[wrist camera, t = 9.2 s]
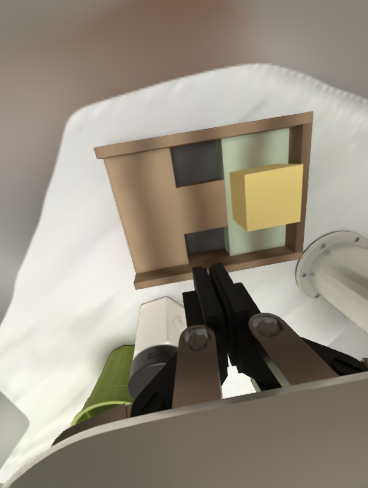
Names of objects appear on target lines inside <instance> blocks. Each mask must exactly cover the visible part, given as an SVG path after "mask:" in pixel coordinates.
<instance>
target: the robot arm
mask: <svg viewBox="0 0 368 488" xmlns="http://www.w3.org/2000/svg"><path fill="white" fill-rule="evenodd" d="M208 270H209V275H208V272H207V270H206V268H202V266H196V267H192V273H193V280H194V286H195V291H189V292H184V293H182V295H183V302H184V309H185V317H186V324H187V328H186V329H185V330H184V331H183V332H182V333H181V335H180V338H179V344H178V351H177V352H176V354H175V355H174V356H173V357H172V358H171V359H170V360H169V361H168V362H167V364H166V365H165V366H164V367H163V368H162V369H161V370H160V371H159V372H158V374H157V375H156V376H155V377H154V378H153V379H152V380H151V381H150V382H149V384H148V385H147V386H146V387H145V388H144V389H143V390H142V391H141V392H140V394H139V395H138V396H137V398H136V399H135V400H134V403H131V404H129V405H127V406H126V404H125V403H123V404H121V405H119V406H117V407H114V408H112V409H110V410H107V411H105V412H103V413H101V414H98V415H96V416H94V417H92V418H89V419H87V420H85V421H83V422H80V423H78V424H76V425H73V426H71V427H70V428H68V429H66V430H65V431H63V432H62V433H61V434H60V435H59V436H58V437H57V438H56V439H55V441H54V442H53V444H52V445H51V447H50V448H49V449H47V450H46V451H44V452H42V453H41V454H39V455H38V456H36V457H35V458H34V459H32V460H31V461H30V462H28V463H27V464H26V465H24V466H23V467H22V468H21V469H19V470H18V471H17V472H16V473H15V474H14V475H13V476H12V477H11V478H10V479H9V480H8V481H7V482H6V483H5V484H4V485H3V486H2V487H1V488H368V358H362V360H361V361H358V360H357V359H355V358H353V357H351V356H349V355H347V354H344V353H342V352H339V351H337V350H334V349H331V348H329V347H326V346H323V345H321V344H318V343H316V342H313V341H310V340H308V339H305V338H303V337H300V336H299V335H298V334H297V333H296V332H295V331H294V330H293V329H292V328H291V327H290V326H289V325H288V324H287V323H286V322H285V321H284V320H282V319H281V318H280V317H278V316H276V315H274V314H270V313H261V312H260V310H259V309H258V307H257V306H256V304H255V303H254V301H253V300H252V298H251V296H250V295H249V293H248V292H247V290H246V289H245V287H244V285H243V284H242V283H241V282H240V283H235V284H234V283H233V281H232V280H231V278H230V276H229V274H228V273H227V271H226V269H225V267H224V266H223V264H222V262H219V263H214V264H212V265H211V267H208ZM296 280H297V283H298V286H299V287H300V289H301V290H302V291H303V292H304V293H305V294H306V295H308V296H309V297H311V298H313V299H316V300H327V301H329V302H330V303H331V304H332V305H333V306H335V307H336V308H337V309H338V310H339V311H340V312H342V313H343V314H344V315H345V316H346V317H348V318H349V319H350V320H351V321H352V322H353V323H355V324H356V325H357V326H358V327H359V328H361V329H362V330H363V331H364V332H365V333H367V334H368V241H367V240H366V239H365V238H363V237H362V236H360V235H358V234H355V233H352V232H347V231H340V232H335V233H331V234H328V235H326V236H324V237H322V238H320V239H318V240H317V241H316V242H314V243H313V244H312V245H311V246H310V247H309V248H308V249H307V250H306V251H305V253H304V254H303V255H302V259H300V261H299V263H298V266H297V270H296ZM227 353H228V354H227ZM228 356H229V359H230V362H231V365H232V366H236V367H237V370H238V373H244V374H245V375H247V376H249V377H251V382H252V385H253V387H254V388H255V390H256V393H251V394H246V395H240V396H235V397H230V398H225V399H223V398H222V388H221V386H222V385H223V383H224V381H225V380H226V378H227V376H228V373H227V367H229V365H228Z"/></svg>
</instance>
